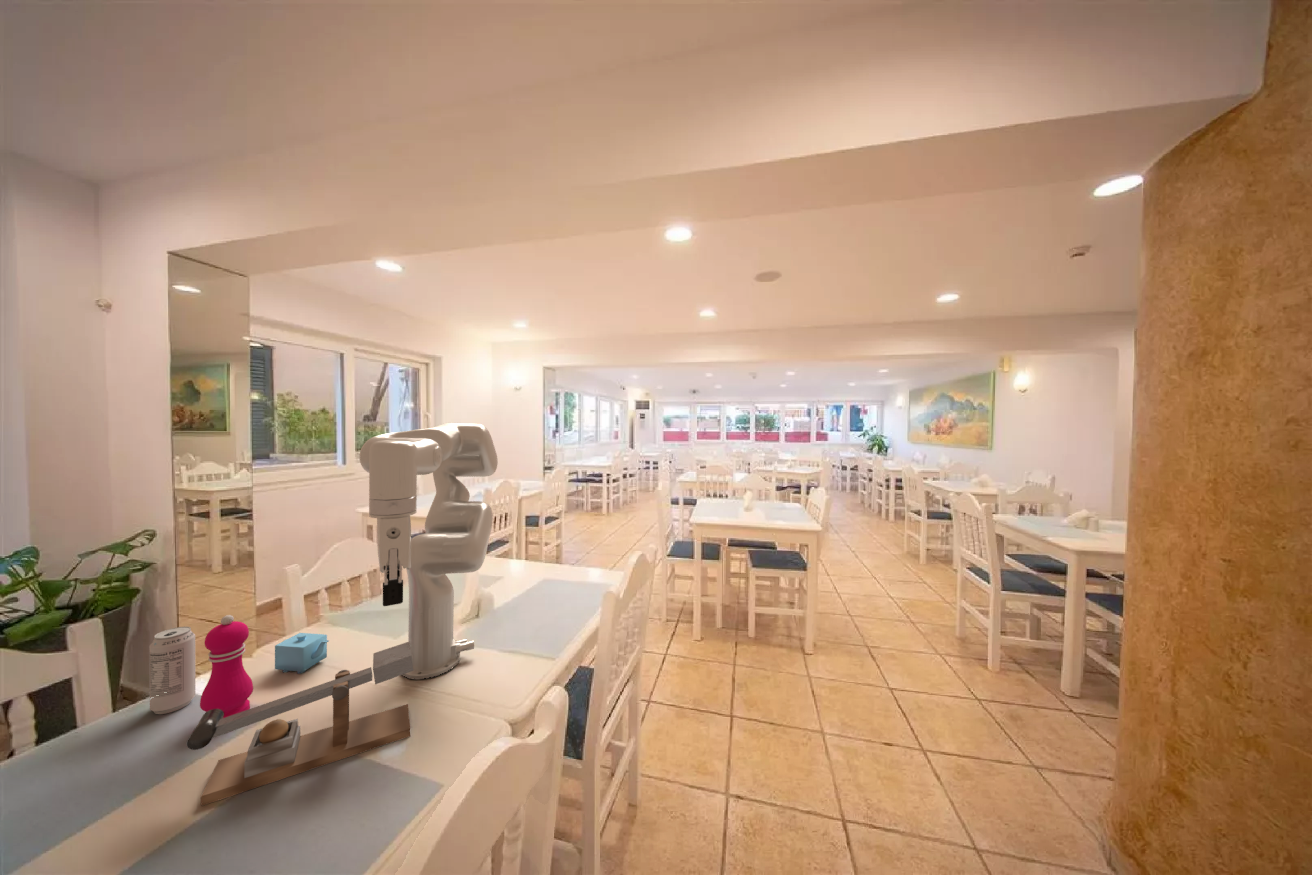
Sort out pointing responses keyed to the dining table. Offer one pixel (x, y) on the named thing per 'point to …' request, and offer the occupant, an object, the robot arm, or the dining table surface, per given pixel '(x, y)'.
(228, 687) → the pepper mill
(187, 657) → the energy drink can
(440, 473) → the robot arm
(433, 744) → the dining table surface
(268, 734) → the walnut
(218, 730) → the lever
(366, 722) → the stand
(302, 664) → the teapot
